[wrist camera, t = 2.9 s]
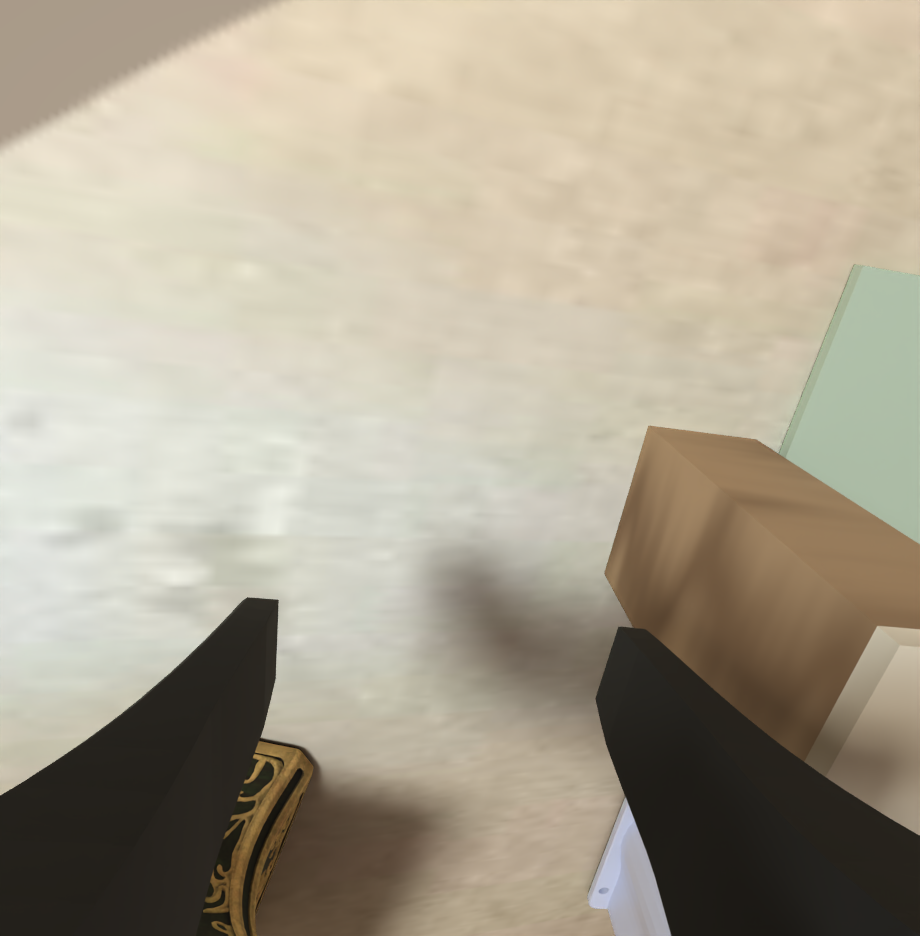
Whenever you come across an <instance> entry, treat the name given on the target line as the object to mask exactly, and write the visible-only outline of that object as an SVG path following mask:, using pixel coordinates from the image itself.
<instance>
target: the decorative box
mask: <svg viewBox="0 0 920 936" xmlns="http://www.w3.org/2000/svg"><path fill="white" fill-rule="evenodd" d="M312 773H313V765H312V764H311V763H310V762H309V760H308V759H307V758H306V757H305V755H304V754H303V753H302V752H301V751H300V750H299V749H295V748H290V747H285V746H281V745H276V744H271V743H266V742H261V741H259V742H258V745H257V748H256V751H255V753H254V756H253V759H252V762H251V765H250V767H249V770H248V773H247V776H246V778H245V781H244V784H243V787H242V789H241V792H240V795H239V797H238V800H237V803H236V806H235V808H234V811H233V814H232V817H231V819H230V822H229V825H228V828H227V830H226V833H225V836H224V839H223V841H222V845H221V848H220V851H219V854H218V857H217V860H216V863H215V866H214V869H213V873H212V877H211V881H210V884H209V888H208V892H207V895H206V899H205V903H204V907H203V910H202V914H201V918H200V921H199V925H198V929H197V933H196V936H257V934H256V926H255V915H256V912H257V910H258V907H259V905H260V903H261V900H262V898H263V895H264V893H265V890H266V888H267V885H268V883H269V880H270V878H271V875H272V873H273V870H274V868H275V865H276V863H277V860H278V858H279V855H280V853H281V851H282V848H283V846H284V843H285V841H286V838H287V836H288V833H289V831H290V828H291V826H292V823H293V821H294V818H295V816H296V813H297V811H298V808H299V806H300V803H301V801H302V799H303V796H304V794H305V791H306V789H307V786H308V784H309V781H310V779H311V776H312Z"/></svg>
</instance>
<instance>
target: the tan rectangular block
mask: <svg viewBox="0 0 920 936" xmlns="http://www.w3.org/2000/svg"><path fill="white" fill-rule="evenodd" d="M604 574H605V576H606V578H607V579H608V581H609V583H610V585H611V587H612V589H613V591H614V592H615V594H616V596H617V598H618V600H619V602H620V603H621V605H622V607H623V609H624V611H625V613H626V615H627V616H628V618H629V620H630V622H631V624H632V626H633V627H634V628H641V629H646V630H647V631H649V632H650V633H651V634H652V635H653V636H655V637H656V638H657V639H658V640H659V641H661V642H662V643H663V644H664V645H665V646H666V647H667V648H668V649H670V650H671V651H672V652H673V653H674V654H675V655H676V656H677V657H678V658H680V659H681V660H682V661H683V662H684V663H685V664H686V665H687V666H688V667H689V668H691V669H692V670H693V671H694V672H695V673H696V674H697V675H698V676H699V677H701V678H702V679H703V680H704V681H705V682H706V683H707V684H708V685H709V686H711V687H712V688H713V689H714V690H715V691H716V692H717V693H719V694H720V695H721V696H722V697H723V698H724V699H725V700H727V701H728V702H729V703H730V704H731V705H732V706H734V707H735V708H736V709H737V710H738V711H740V712H741V713H742V714H743V715H744V716H745V717H747V718H748V719H749V720H750V721H752V722H753V723H754V724H755V725H757V726H758V727H759V728H760V729H762V730H763V731H764V732H765V733H767V734H768V735H769V736H770V737H771V738H773V739H774V740H775V741H777V742H778V743H779V744H781V745H782V746H783V747H785V748H786V749H787V750H789V751H790V752H791V753H793V754H794V755H795V756H797V757H798V758H800V759H801V760H802V761H804V762H805V763H807V764H808V765H809V766H811V767H812V768H814V769H815V770H816V771H818V772H819V773H821V774H822V775H823V776H825V777H826V778H828V779H829V780H831V781H832V782H834V783H835V784H837V785H838V786H840V787H841V788H843V789H844V790H846V791H847V792H849V793H850V794H852V795H854V796H855V797H857V798H858V799H860V800H862V801H863V802H865V803H866V804H868V805H869V806H871V807H873V808H874V809H876V810H877V811H879V812H881V813H882V814H884V815H885V816H887V817H889V818H890V819H892V820H894V821H895V822H897V823H899V824H901V825H902V826H904V827H906V828H907V829H909V830H911V831H913V832H914V833H916V834H918V835H920V544H918V543H917V542H915V541H914V540H912V539H911V538H909V537H908V536H906V535H904V534H903V533H901V532H900V531H898V530H897V529H895V528H893V527H892V526H890V525H889V524H887V523H886V522H884V521H883V520H881V519H879V518H878V517H876V516H875V515H873V514H872V513H870V512H868V511H867V510H865V509H864V508H862V507H861V506H859V505H858V504H856V503H854V502H853V501H851V500H850V499H848V498H847V497H845V496H844V495H842V494H840V493H839V492H837V491H836V490H834V489H833V488H831V487H829V486H828V485H826V484H825V483H823V482H822V481H820V480H819V479H817V478H815V477H814V476H812V475H811V474H809V473H808V472H806V471H804V470H803V469H801V468H800V467H798V466H797V465H795V464H794V463H792V462H790V461H789V460H787V459H786V458H784V457H783V456H781V455H779V454H778V453H776V452H775V451H773V450H772V449H770V448H769V447H767V446H765V445H764V444H762V443H761V442H759V441H758V440H755V439H748V438H740V437H732V436H724V435H717V434H709V433H701V432H693V431H686V430H678V429H670V428H662V427H655V426H648V429H647V432H646V436H645V439H644V443H643V446H642V449H641V453H640V456H639V459H638V463H637V466H636V469H635V473H634V476H633V479H632V483H631V486H630V489H629V493H628V496H627V499H626V503H625V506H624V510H623V513H622V516H621V520H620V523H619V526H618V530H617V533H616V536H615V540H614V543H613V546H612V550H611V553H610V556H609V560H608V563H607V566H606V570H605V573H604Z"/></svg>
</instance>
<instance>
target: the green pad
mask: <svg viewBox="0 0 920 936" xmlns="http://www.w3.org/2000/svg"><path fill="white" fill-rule="evenodd" d="M779 455H781V456H783V457H784V458H786V459H787V460H789V461H790V462H792V463H794V464H795V465H797V466H798V467H800V468H801V469H803V470H804V471H806V472H808V473H809V474H811V475H812V476H814V477H815V478H817V479H819V480H820V481H822V482H823V483H825V484H826V485H828V486H829V487H831V488H833V489H834V490H836V491H837V492H839V493H840V494H842V495H844V496H845V497H847V498H848V499H850V500H851V501H853V502H854V503H856V504H858V505H859V506H861V507H862V508H864V509H865V510H867V511H868V512H870V513H872V514H873V515H875V516H876V517H878V518H879V519H881V520H883V521H884V522H886V523H887V524H889V525H890V526H892V527H893V528H895V529H897V530H898V531H900V532H901V533H903V534H904V535H906V536H908V537H909V538H911V539H912V540H914V541H915V542H917V543H918V544H920V276H919V275H914V274H908V273H902V272H897V271H891V270H885V269H880V268H874V267H869V266H862V265H854V266H853V269H852V271H851V274H850V276H849V279H848V281H847V284H846V287H845V289H844V292H843V294H842V297H841V299H840V302H839V304H838V307H837V309H836V312H835V314H834V317H833V319H832V322H831V324H830V327H829V329H828V332H827V334H826V337H825V339H824V342H823V344H822V347H821V349H820V352H819V354H818V357H817V359H816V362H815V364H814V367H813V369H812V372H811V374H810V377H809V379H808V382H807V384H806V387H805V389H804V392H803V394H802V397H801V399H800V402H799V404H798V407H797V409H796V412H795V414H794V417H793V419H792V422H791V424H790V427H789V429H788V432H787V434H786V437H785V439H784V442H783V444H782V447H781V450H780V452H779Z"/></svg>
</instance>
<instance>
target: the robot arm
mask: <svg viewBox="0 0 920 936" xmlns="http://www.w3.org/2000/svg"><path fill="white" fill-rule="evenodd" d="M278 601H279V600H273V599H261V598H248V597H247V598H246V599H245V600H243V601H242V602H241V603H240V604H239V605H238V606H237V607H236V608H235V609H234V610H233V612H232V613H231V614H230V615H229V616H228V617H227V618H226V619H225V620H224V621H223V622H222V623H221V624H220V625H219V626H218V627H217V628H216V629H215V630H214V631H213V632H212V633H211V634H210V636H209V637H208V638H207V639H206V640H205V641H204V642H203V643H201V644H200V645H199V646H198V647H197V648H196V649H195V650H194V651H193V652H192V653H191V654H190V655H189V656H188V657H187V658H186V659H185V660H184V661H183V662H182V663H181V664H179V665H178V666H177V667H176V668H175V669H174V670H173V671H172V672H171V673H170V674H168V675H167V676H166V677H165V678H164V679H163V680H161V681H160V682H159V683H158V684H157V685H156V686H154V687H153V688H152V689H151V690H150V691H149V692H147V693H146V694H145V695H144V696H143V697H142V698H141V699H139V700H138V701H137V702H136V703H134V704H133V705H132V706H131V707H129V708H128V709H127V710H126V711H124V712H123V713H122V714H121V715H119V716H118V717H117V718H115V719H114V720H113V721H112V722H110V723H109V724H108V725H106V726H105V727H103V728H102V729H101V730H99V731H98V732H97V733H95V734H94V735H93V736H91V737H90V738H88V739H87V740H86V741H84V742H83V743H81V744H80V745H78V746H77V747H76V748H74V749H73V750H71V751H70V752H68V753H67V754H65V755H64V756H62V757H61V758H59V759H58V760H56V761H55V762H53V763H52V764H50V765H49V766H47V767H46V768H44V769H42V770H41V771H39V772H38V773H36V774H35V775H33V776H32V777H30V778H29V779H27V780H26V781H24V782H22V783H21V784H19V785H17V786H16V787H14V788H12V789H11V790H9V791H7V792H6V793H4V794H2V795H0V936H196V933H197V929H198V925H199V921H200V918H201V914H202V910H203V907H204V903H205V899H206V895H207V892H208V888H209V884H210V881H211V877H212V873H213V869H214V866H215V863H216V860H217V857H218V854H219V851H220V848H221V845H222V841H223V839H224V836H225V833H226V830H227V828H228V825H229V822H230V819H231V817H232V814H233V811H234V808H235V806H236V803H237V800H238V797H239V795H240V792H241V789H242V787H243V784H244V781H245V778H246V776H247V773H248V770H249V767H250V765H251V762H252V759H253V756H254V753H255V751H256V748H257V745H258V742H259V740H260V737H261V734H262V731H263V728H264V725H265V720H266V716H267V712H268V708H269V704H270V700H271V696H272V692H273V687H274V683H275V679H276V653H277V627H278ZM596 703H597V707H598V712H599V716H600V721H601V725H602V729H603V733H604V737H605V741H606V745H607V748H608V751H609V753H610V756H611V759H612V762H613V764H614V767H615V770H616V773H617V775H618V778H619V781H620V783H621V786H622V789H623V791H624V794H625V799H624V801H623V804H622V807H621V809H620V812H619V815H618V817H617V820H616V822H615V825H614V828H613V830H612V833H611V835H610V838H609V841H608V843H607V846H606V849H605V851H604V854H603V856H602V859H601V862H600V864H599V867H598V869H597V872H596V875H595V877H594V880H593V883H592V885H591V888H590V890H589V893H588V896H587V899H588V902H589V905H590V906H591V907H592V908H596V909H608V912H609V915H610V919H611V923H612V926H613V930H614V933H615V936H920V835H918V834H916V833H914V832H913V831H911V830H909V829H907V828H906V827H904V826H902V825H901V824H899V823H897V822H895V821H894V820H892V819H890V818H889V817H887V816H885V815H884V814H882V813H881V812H879V811H877V810H876V809H874V808H873V807H871V806H869V805H868V804H866V803H865V802H863V801H862V800H860V799H858V798H857V797H855V796H854V795H852V794H850V793H849V792H847V791H846V790H844V789H843V788H841V787H840V786H838V785H837V784H835V783H834V782H832V781H831V780H829V779H828V778H826V777H825V776H823V775H822V774H821V773H819V772H818V771H816V770H815V769H814V768H812V767H811V766H809V765H808V764H807V763H805V762H804V761H802V760H801V759H800V758H798V757H797V756H795V755H794V754H793V753H791V752H790V751H789V750H787V749H786V748H785V747H783V746H782V745H781V744H779V743H778V742H777V741H775V740H774V739H773V738H771V737H770V736H769V735H768V734H767V733H765V732H764V731H763V730H762V729H760V728H759V727H758V726H757V725H755V724H754V723H753V722H752V721H750V720H749V719H748V718H747V717H745V716H744V715H743V714H742V713H741V712H740V711H738V710H737V709H736V708H735V707H734V706H732V705H731V704H730V703H729V702H728V701H727V700H725V699H724V698H723V697H722V696H721V695H720V694H719V693H717V692H716V691H715V690H714V689H713V688H712V687H711V686H709V685H708V684H707V683H706V682H705V681H704V680H703V679H702V678H701V677H699V676H698V675H697V674H696V673H695V672H694V671H693V670H692V669H691V668H689V667H688V666H687V665H686V664H685V663H684V662H683V661H682V660H681V659H680V658H678V657H677V656H676V655H675V654H674V653H673V652H672V651H671V650H670V649H668V648H667V647H666V646H665V645H664V644H663V643H662V642H661V641H659V640H658V639H657V638H656V637H655V636H653V635H652V634H651V633H650V632H649V631H647V630H646V629H641V628H628V627H618V630H617V633H616V636H615V640H614V643H613V646H612V649H611V652H610V655H609V658H608V661H607V664H606V668H605V671H604V674H603V677H602V680H601V683H600V686H599V689H598V692H597V696H596Z"/></svg>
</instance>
